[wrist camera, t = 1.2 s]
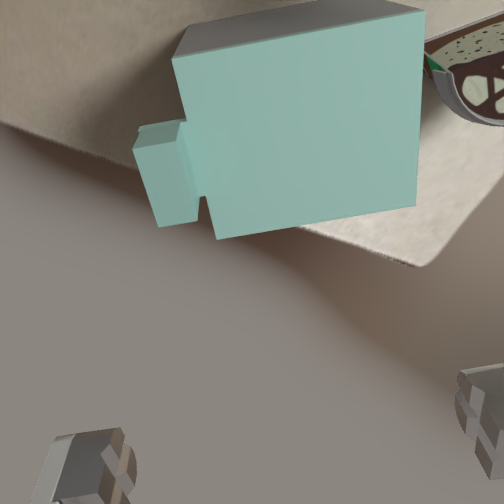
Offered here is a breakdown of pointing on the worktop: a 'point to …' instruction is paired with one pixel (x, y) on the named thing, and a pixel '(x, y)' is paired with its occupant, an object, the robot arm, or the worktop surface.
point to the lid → (291, 128)
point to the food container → (470, 69)
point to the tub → (282, 22)
